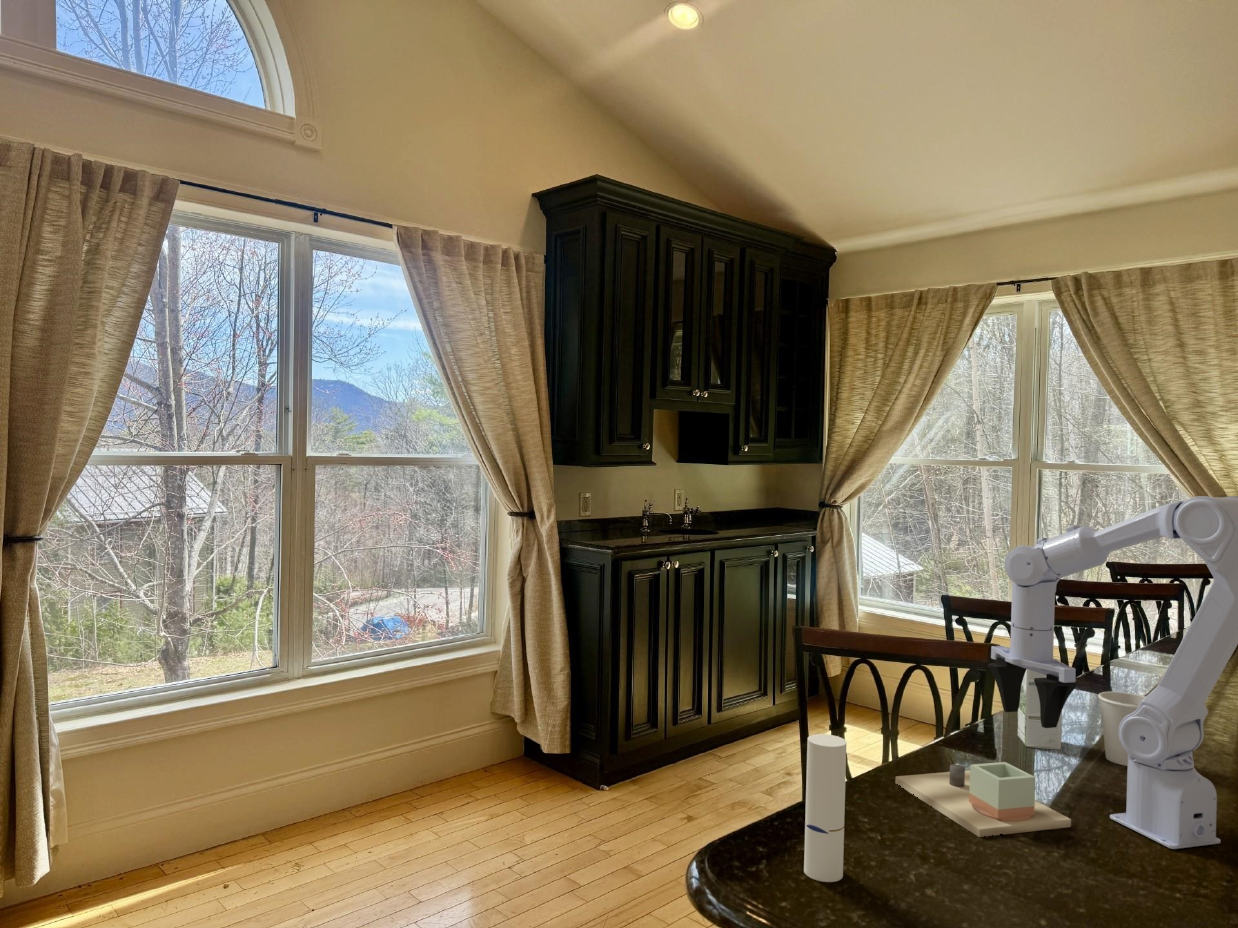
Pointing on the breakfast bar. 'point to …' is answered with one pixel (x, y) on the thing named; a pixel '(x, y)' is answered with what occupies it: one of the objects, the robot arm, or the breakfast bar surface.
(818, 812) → the tube
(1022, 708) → the syrup box
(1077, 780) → the breakfast bar surface
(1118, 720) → the dixie cup
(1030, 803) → the sleeve
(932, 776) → the pin board
